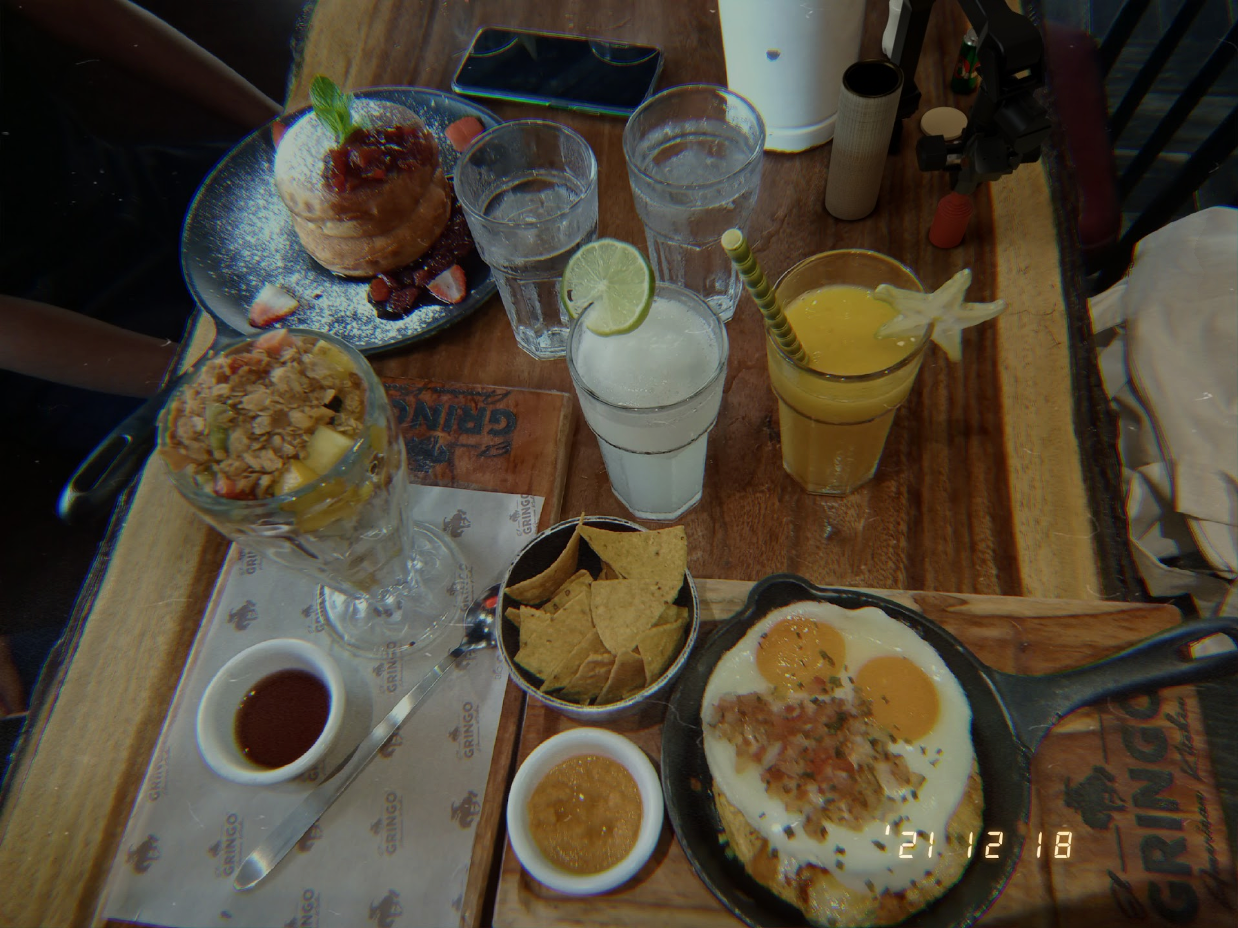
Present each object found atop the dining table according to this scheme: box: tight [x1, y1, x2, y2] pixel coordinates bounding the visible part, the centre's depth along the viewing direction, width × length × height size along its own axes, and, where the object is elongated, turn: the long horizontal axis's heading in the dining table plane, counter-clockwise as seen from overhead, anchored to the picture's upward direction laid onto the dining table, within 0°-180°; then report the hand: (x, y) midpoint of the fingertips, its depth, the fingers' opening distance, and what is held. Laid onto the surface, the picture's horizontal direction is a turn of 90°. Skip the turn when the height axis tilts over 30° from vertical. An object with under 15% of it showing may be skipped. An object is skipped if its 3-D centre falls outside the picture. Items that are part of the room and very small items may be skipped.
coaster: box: [920, 106, 968, 141], centre depth 151 cm, size 9×9×1 cm
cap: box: [954, 165, 978, 196], centre depth 127 cm, size 4×4×3 cm
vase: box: [824, 57, 904, 221], centre depth 134 cm, size 10×10×28 cm
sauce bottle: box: [928, 190, 974, 249], centre depth 134 cm, size 6×6×12 cm
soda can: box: [949, 26, 980, 95], centre depth 150 cm, size 5×5×12 cm
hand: (963, 188), depth 128 cm, fingers closed on cap, 4 cm apart
